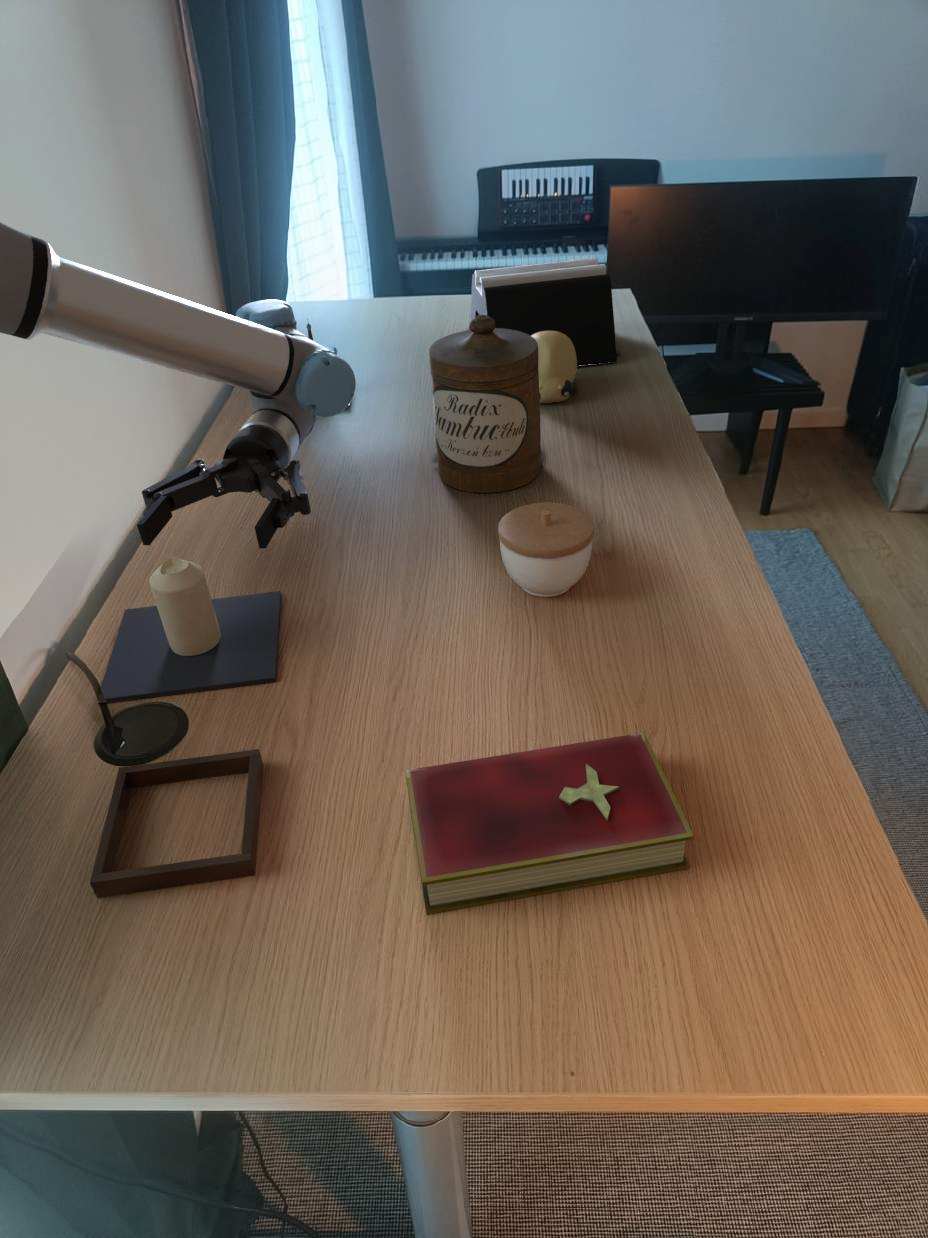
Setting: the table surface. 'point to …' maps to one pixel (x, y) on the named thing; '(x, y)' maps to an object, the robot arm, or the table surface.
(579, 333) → the device stand
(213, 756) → the square wooden frame
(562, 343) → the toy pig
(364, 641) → the table surface
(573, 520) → the trinket box
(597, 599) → the table surface
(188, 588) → the candle
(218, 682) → the felt mat
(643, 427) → the table surface
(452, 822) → the hardcover book
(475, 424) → the wooden container
